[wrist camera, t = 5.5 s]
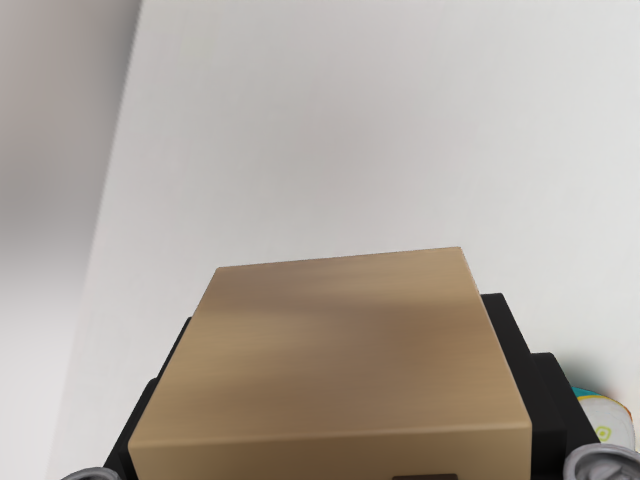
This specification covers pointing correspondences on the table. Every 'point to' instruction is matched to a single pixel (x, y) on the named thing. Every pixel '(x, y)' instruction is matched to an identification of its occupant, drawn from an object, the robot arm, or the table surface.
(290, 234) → the table surface
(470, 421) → the letter h cube
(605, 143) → the table surface
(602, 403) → the toy airplane
